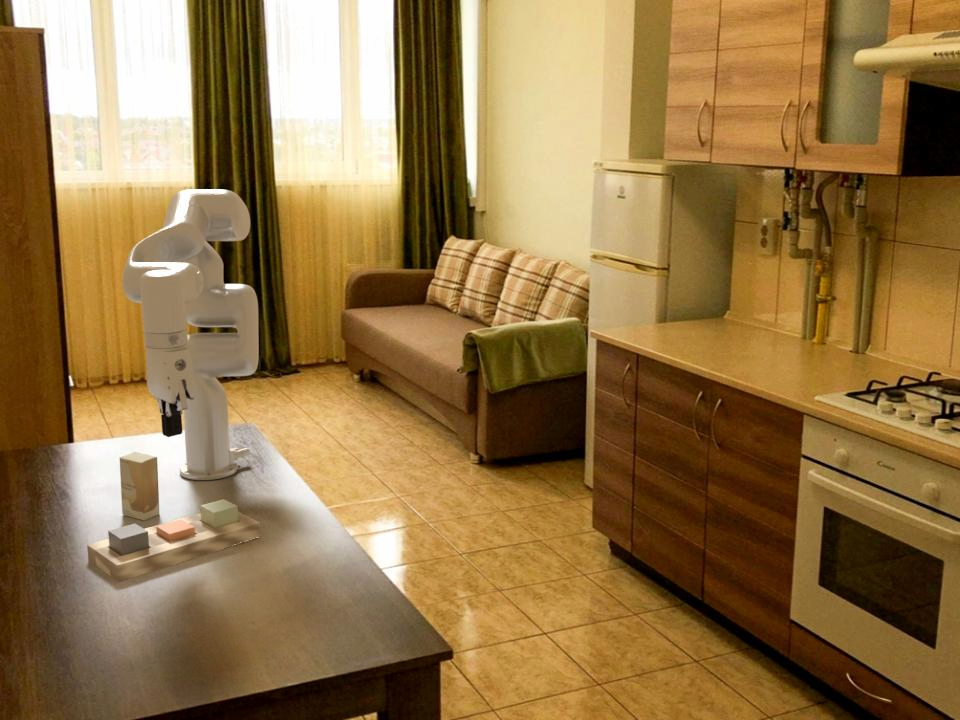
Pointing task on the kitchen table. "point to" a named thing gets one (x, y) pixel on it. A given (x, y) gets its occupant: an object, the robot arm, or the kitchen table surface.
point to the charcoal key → (128, 539)
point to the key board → (171, 547)
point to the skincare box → (139, 485)
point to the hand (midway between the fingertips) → (172, 434)
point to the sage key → (219, 513)
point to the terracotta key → (175, 530)
